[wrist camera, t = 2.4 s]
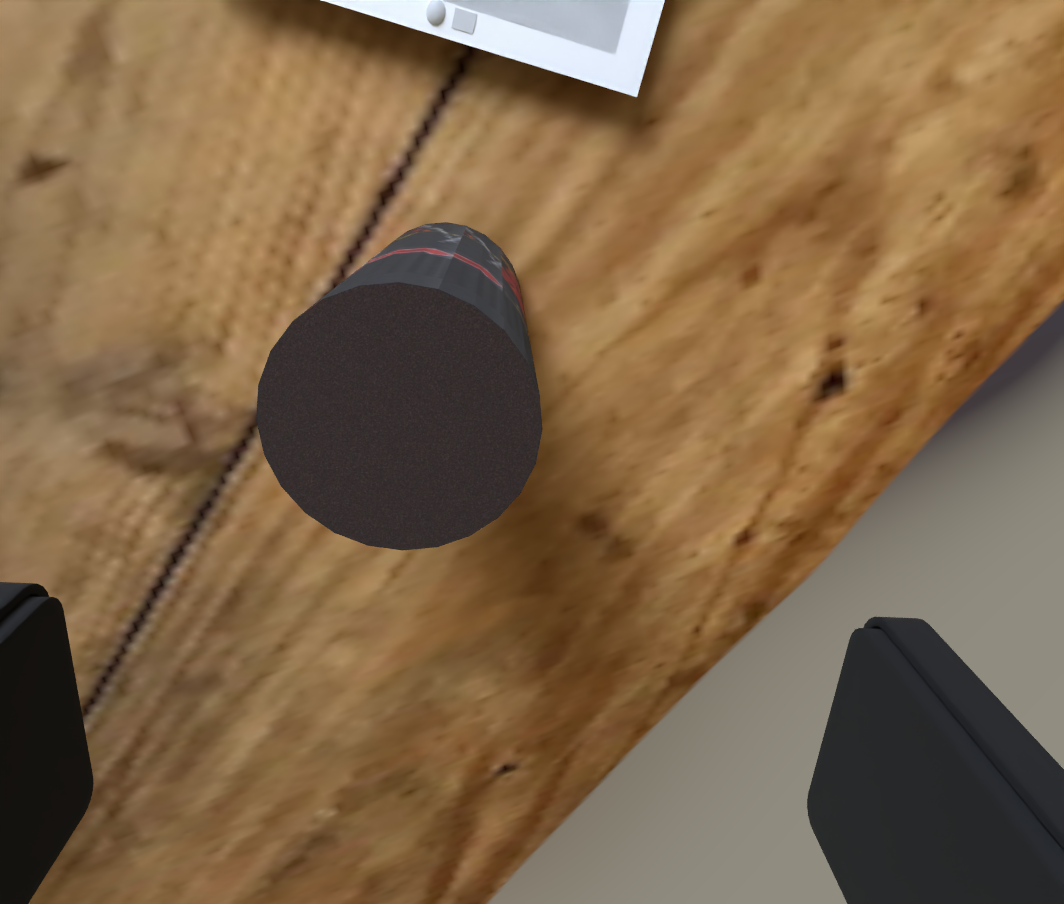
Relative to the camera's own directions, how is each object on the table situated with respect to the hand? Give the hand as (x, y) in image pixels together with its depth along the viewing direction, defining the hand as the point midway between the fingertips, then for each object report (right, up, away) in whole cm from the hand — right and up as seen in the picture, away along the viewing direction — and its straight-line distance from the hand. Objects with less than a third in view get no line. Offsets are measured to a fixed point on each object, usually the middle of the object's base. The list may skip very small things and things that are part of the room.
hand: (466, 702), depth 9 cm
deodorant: (-3, +9, +21) cm, 23 cm away
